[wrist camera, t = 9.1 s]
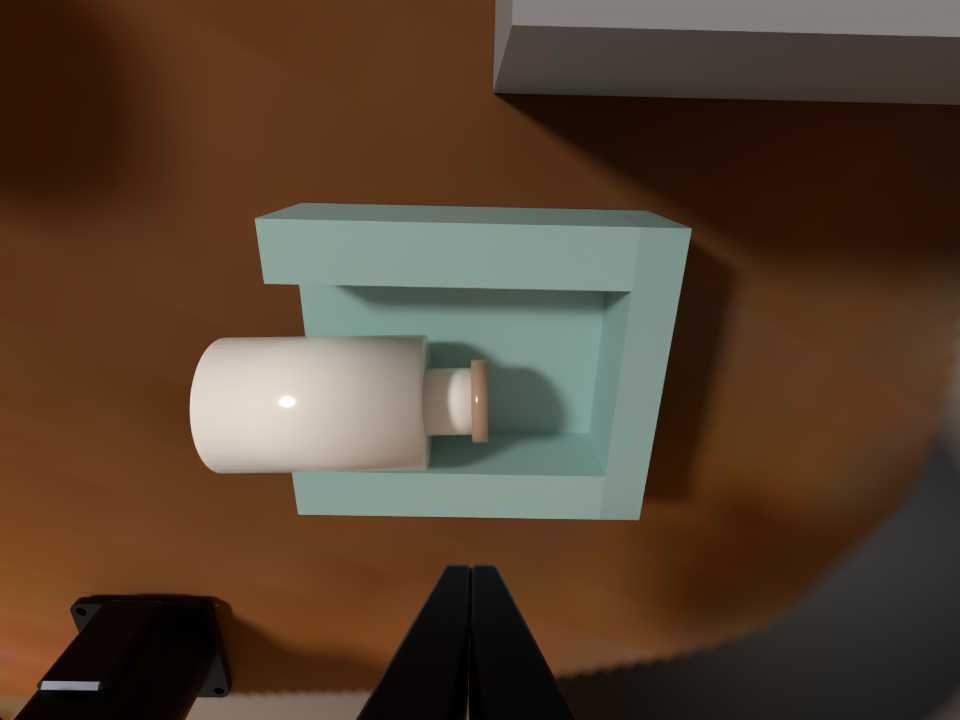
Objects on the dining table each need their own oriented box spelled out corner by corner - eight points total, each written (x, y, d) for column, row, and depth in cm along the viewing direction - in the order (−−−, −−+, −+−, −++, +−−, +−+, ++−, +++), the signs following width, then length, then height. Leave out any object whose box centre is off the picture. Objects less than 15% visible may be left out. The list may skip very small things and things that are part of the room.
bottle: (268, 389, 20) (486, 386, 20) (234, 496, 17) (488, 492, 17) (221, 309, 16) (486, 305, 16) (170, 427, 14) (488, 422, 14)
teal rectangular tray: (611, 455, 21) (639, 519, 18) (329, 450, 21) (297, 514, 18) (647, 210, 18) (691, 228, 14) (302, 202, 17) (254, 218, 14)
